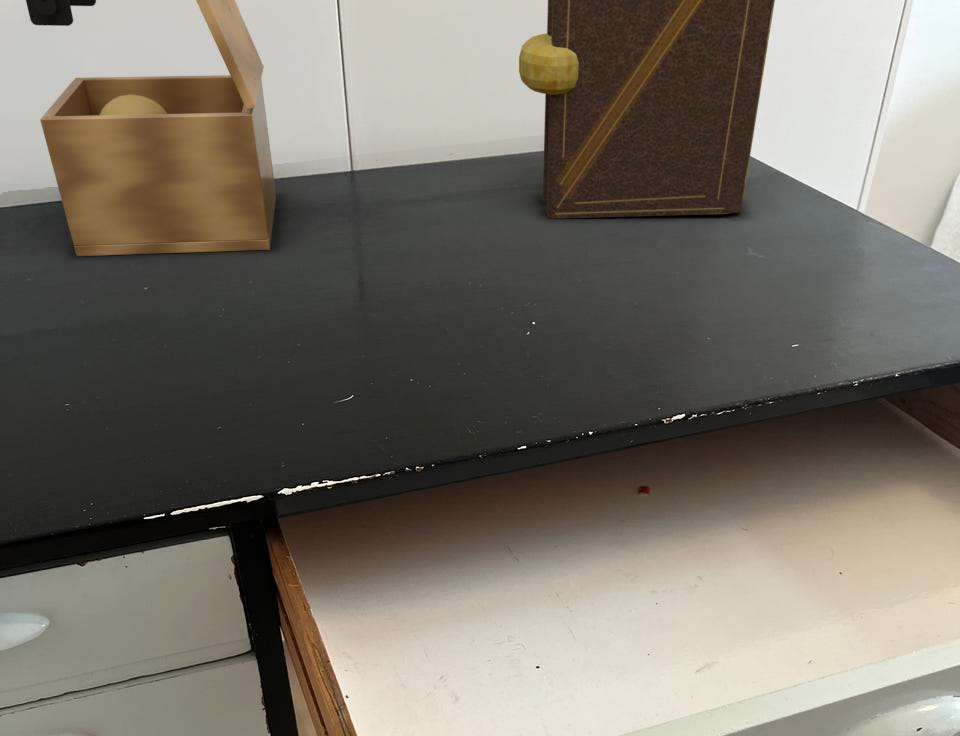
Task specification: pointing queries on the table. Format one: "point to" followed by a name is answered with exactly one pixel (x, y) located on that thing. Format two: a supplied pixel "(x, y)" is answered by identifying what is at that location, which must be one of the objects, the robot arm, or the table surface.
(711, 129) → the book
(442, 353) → the table surface
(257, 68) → the lid
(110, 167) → the chest
